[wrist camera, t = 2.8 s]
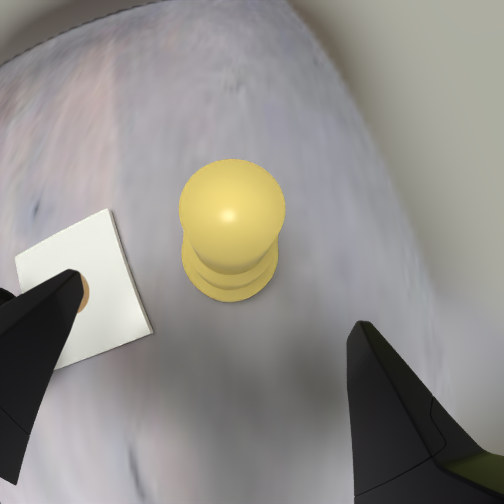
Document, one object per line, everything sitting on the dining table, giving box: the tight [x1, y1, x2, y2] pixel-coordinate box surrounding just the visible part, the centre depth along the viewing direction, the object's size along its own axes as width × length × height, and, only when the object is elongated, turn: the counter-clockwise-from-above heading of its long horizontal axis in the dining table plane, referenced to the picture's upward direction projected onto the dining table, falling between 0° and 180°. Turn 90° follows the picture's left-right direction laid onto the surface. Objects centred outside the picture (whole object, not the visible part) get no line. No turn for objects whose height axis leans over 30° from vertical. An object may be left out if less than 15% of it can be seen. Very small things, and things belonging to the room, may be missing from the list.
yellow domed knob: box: [179, 159, 285, 302], centre depth 15 cm, size 6×6×10 cm
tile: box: [15, 208, 154, 370], centre depth 18 cm, size 9×9×1 cm
